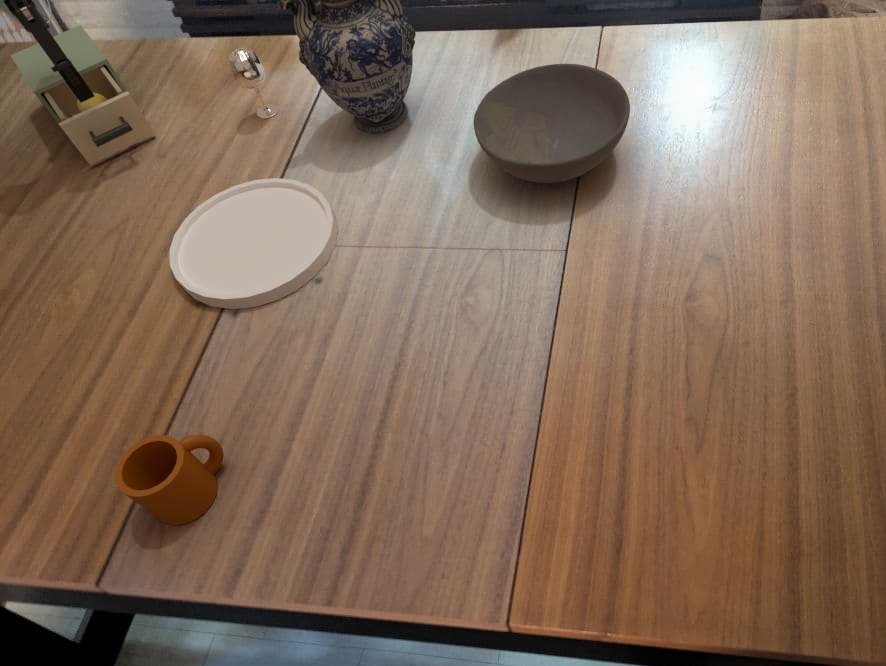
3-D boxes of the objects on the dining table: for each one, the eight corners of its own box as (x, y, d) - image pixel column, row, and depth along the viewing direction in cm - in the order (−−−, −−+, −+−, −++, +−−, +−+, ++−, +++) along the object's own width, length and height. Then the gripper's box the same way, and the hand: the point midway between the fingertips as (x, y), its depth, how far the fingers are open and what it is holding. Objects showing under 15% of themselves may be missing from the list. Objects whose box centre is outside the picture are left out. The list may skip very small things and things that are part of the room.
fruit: (111, 80, 138) (59, 97, 136) (110, 90, 133) (56, 108, 131) (132, 115, 143) (82, 131, 141) (131, 126, 138) (79, 143, 136)
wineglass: (286, 112, 140) (260, 55, 130) (259, 124, 139) (232, 68, 129) (275, 98, 143) (249, 41, 133) (249, 110, 142) (221, 54, 132)
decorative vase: (330, 159, 132) (268, 9, 108) (323, 100, 141) (264, -49, 118) (442, 133, 133) (404, -21, 109) (427, 76, 142) (390, -76, 119)
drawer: (163, 144, 137) (137, 104, 129) (97, 176, 133) (67, 137, 126) (128, 98, 146) (102, 58, 139) (66, 128, 143) (36, 88, 135)
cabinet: (137, 106, 146) (106, 58, 137) (70, 139, 142) (33, 91, 133) (111, 72, 154) (80, 24, 145) (46, 102, 150) (10, 55, 141)
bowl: (605, 221, 117) (605, 172, 108) (459, 195, 123) (448, 148, 115) (645, 121, 129) (647, 70, 121) (510, 102, 136) (504, 53, 127)
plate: (262, 169, 132) (256, 159, 129) (371, 224, 121) (366, 213, 119) (143, 266, 121) (135, 256, 119) (251, 335, 111) (244, 325, 109)
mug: (249, 487, 96) (217, 457, 89) (166, 538, 93) (126, 511, 86) (225, 442, 101) (193, 409, 93) (145, 488, 98) (105, 459, 90)
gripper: (34, -19, 109) (117, 103, 127) (-7, -73, 120) (74, 46, 138) (-14, 1, 107) (77, 122, 125) (-51, -56, 118) (37, 62, 136)
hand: (75, 82), depth 131 cm, fingers open, 13 cm apart
